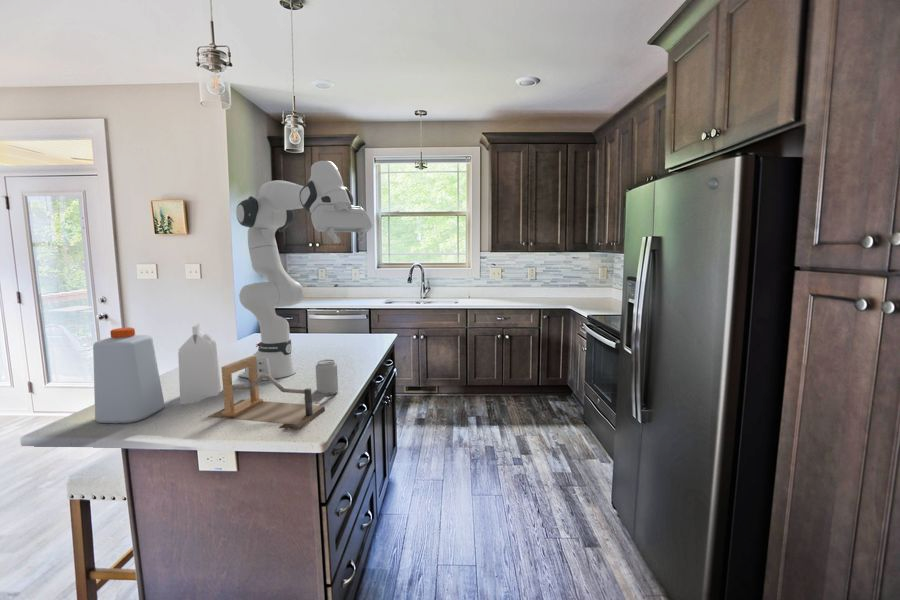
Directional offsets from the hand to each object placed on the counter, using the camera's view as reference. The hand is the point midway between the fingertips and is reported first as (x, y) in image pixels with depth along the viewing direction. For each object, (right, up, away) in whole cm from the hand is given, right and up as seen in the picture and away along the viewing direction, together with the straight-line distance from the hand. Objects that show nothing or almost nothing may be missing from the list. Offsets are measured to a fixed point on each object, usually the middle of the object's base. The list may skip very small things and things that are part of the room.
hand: (350, 242), depth 136 cm
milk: (-57, -53, +17) cm, 80 cm away
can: (-13, -52, +19) cm, 57 cm away
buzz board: (-26, -55, -2) cm, 61 cm away
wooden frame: (-34, -53, 0) cm, 63 cm away
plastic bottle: (-70, -55, +1) cm, 90 cm away
